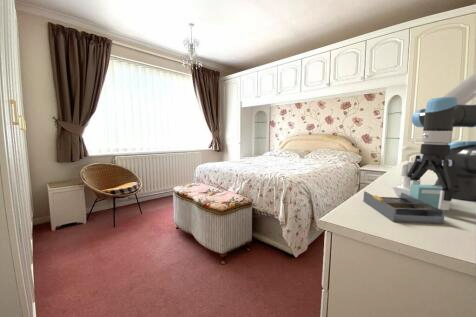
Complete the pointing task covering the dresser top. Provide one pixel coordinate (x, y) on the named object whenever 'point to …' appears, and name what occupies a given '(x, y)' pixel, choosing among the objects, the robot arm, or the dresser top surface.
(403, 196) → the tray
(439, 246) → the dresser top surface
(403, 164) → the figurine
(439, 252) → the dresser top surface
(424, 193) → the teal box
